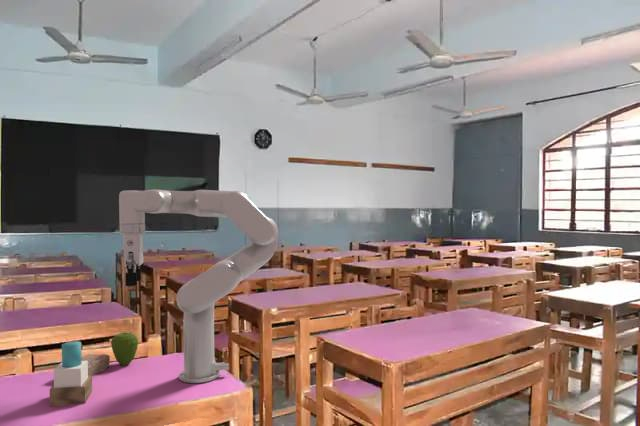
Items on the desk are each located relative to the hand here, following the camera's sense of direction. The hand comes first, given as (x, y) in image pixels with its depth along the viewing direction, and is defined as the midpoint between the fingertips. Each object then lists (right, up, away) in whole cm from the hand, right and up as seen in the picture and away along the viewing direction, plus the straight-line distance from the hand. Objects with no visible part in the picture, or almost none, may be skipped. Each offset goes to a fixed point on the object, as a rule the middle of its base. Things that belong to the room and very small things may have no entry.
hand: (133, 283), depth 160 cm
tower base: (-12, -31, -16) cm, 37 cm away
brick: (-18, -31, +5) cm, 36 cm away
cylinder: (-12, -21, -16) cm, 29 cm away
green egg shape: (-8, -30, +14) cm, 34 cm away
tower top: (-12, -26, -16) cm, 33 cm away
